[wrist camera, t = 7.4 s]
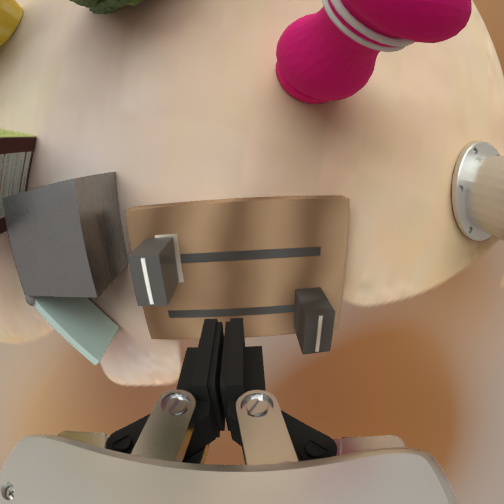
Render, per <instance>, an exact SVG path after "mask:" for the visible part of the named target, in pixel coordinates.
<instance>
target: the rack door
mask: <svg viewBox="0 0 504 504" xmlns="http://www.w3.org/2000/svg"><path fill="white" fill-rule="evenodd" d="M25 298H26V301H27V303H28V304H29V305H31V306H33V307H34V308H35V309H36V310H37V311H38V312H39V313H40V314H41V315H42V316H43V317H44V318H45V320H46V321H47V322H48V323H49V324H50V325H51V326H52V327H53V328H54V329H55V330H56V331H57V332H58V333H59V334H60V335H62V336H63V337H64V338H65V339H66V340H67V341H68V342H69V343H70V344H71V345H72V346H73V347H74V348H76V349H77V350H78V351H79V352H80V353H81V354H82V355H83V356H85V357H86V358H87V359H88V360H89V361H90V362H92V363H93V364H94V365H96V364H97V363H98V362H99V361H100V360H101V358H102V356H103V354H104V353H105V351H106V349H107V347H108V346H109V344H110V342H111V341H112V339H113V337H114V336H115V334H116V332H117V331H118V329H119V326H117V325H116V324H115V323H114V322H113V321H112V320H111V319H110V318H109V317H107V316H106V315H105V314H104V313H103V312H102V311H101V310H100V309H99V308H98V307H97V306H96V305H95V304H94V303H93V302H91V301H90V300H89V299H88V298H87V297H53V296H29V295H26V297H25Z"/></svg>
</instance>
